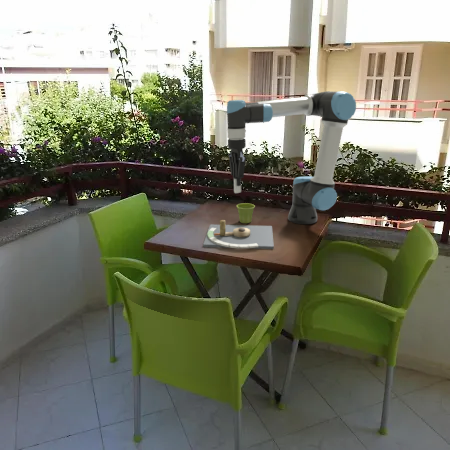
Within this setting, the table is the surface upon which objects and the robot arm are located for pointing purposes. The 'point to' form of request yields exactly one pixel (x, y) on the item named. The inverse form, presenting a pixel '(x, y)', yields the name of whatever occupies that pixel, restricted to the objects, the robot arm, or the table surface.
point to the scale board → (258, 237)
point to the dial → (236, 232)
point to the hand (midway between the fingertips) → (237, 192)
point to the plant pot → (245, 212)
